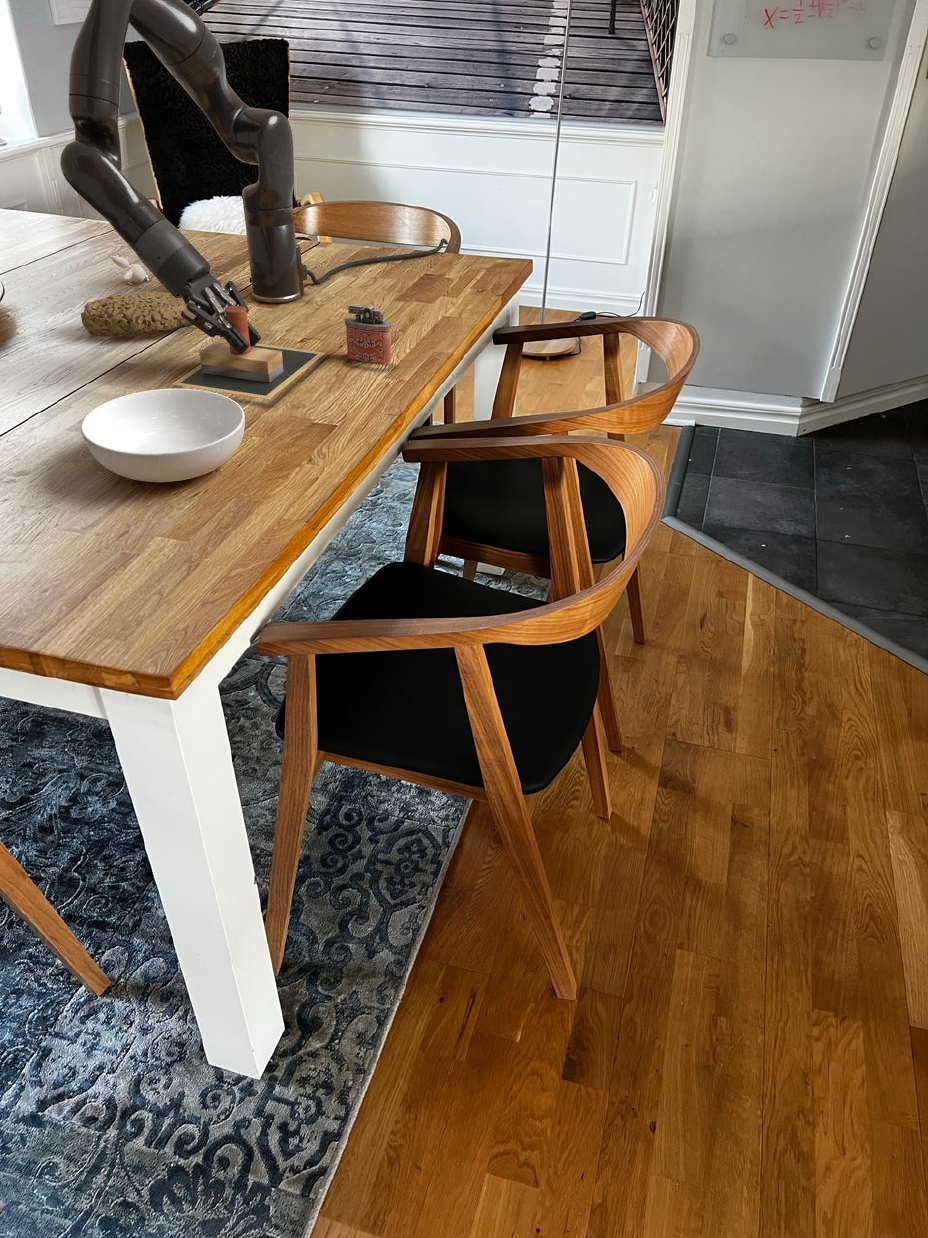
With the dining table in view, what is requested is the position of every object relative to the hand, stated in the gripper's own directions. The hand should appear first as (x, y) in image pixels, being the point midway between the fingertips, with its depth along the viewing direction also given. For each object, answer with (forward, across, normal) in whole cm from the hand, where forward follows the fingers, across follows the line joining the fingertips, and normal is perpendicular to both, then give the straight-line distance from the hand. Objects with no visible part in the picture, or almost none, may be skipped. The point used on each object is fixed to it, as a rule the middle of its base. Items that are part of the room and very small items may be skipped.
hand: (251, 345), depth 150 cm
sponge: (-16, +14, +25) cm, 33 cm away
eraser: (+2, 0, +5) cm, 5 cm away
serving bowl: (+7, -30, +2) cm, 31 cm away
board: (+3, +2, +6) cm, 7 cm away
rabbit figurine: (-30, +38, +38) cm, 61 cm away
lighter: (+15, +13, -6) cm, 20 cm away
